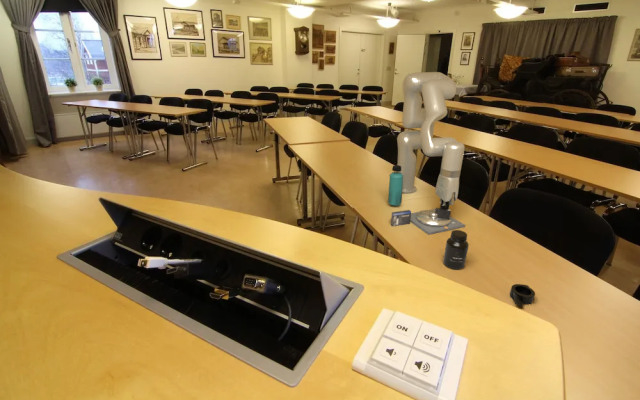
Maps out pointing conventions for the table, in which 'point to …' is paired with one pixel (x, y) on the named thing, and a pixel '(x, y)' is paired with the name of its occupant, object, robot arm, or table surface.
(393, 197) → the beverage bottle
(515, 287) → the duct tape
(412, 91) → the robot arm
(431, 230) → the dial plate
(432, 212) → the dial
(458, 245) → the supplement bottle
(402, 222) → the mini dv tape
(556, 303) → the table surface
